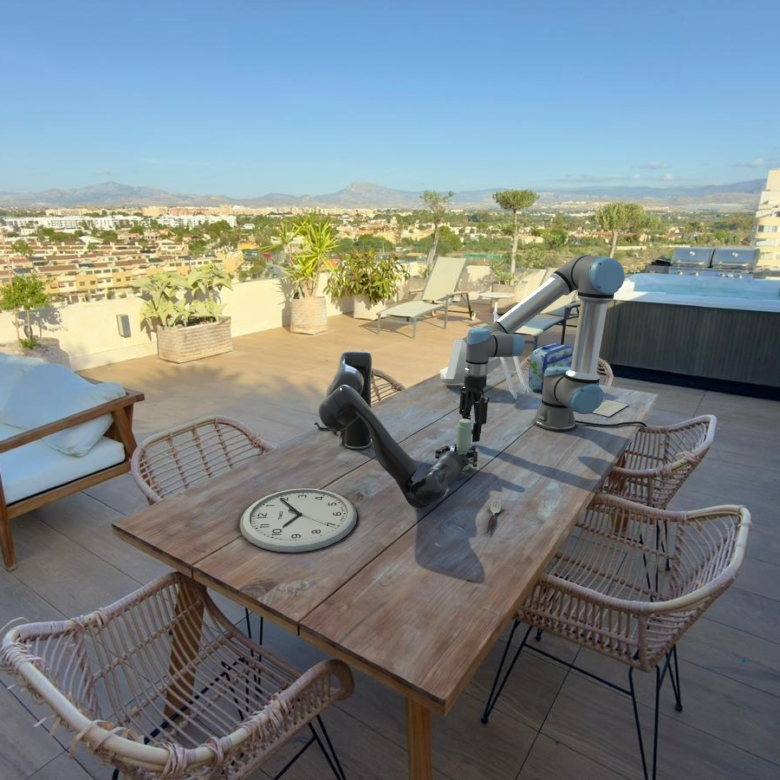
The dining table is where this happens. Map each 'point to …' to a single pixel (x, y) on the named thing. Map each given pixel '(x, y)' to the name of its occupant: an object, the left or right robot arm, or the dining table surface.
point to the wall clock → (298, 520)
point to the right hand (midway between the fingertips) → (470, 438)
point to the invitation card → (609, 407)
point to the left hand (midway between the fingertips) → (465, 447)
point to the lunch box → (547, 362)
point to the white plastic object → (458, 362)
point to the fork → (493, 510)
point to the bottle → (464, 437)
